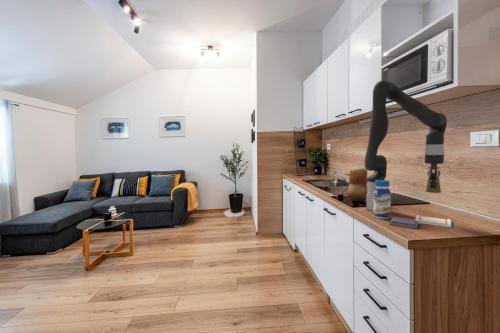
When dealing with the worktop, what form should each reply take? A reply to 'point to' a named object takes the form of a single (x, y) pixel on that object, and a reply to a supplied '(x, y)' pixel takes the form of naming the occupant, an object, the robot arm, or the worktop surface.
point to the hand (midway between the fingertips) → (433, 188)
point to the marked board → (433, 221)
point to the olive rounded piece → (436, 185)
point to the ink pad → (404, 222)
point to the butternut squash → (357, 183)
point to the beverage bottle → (382, 199)
